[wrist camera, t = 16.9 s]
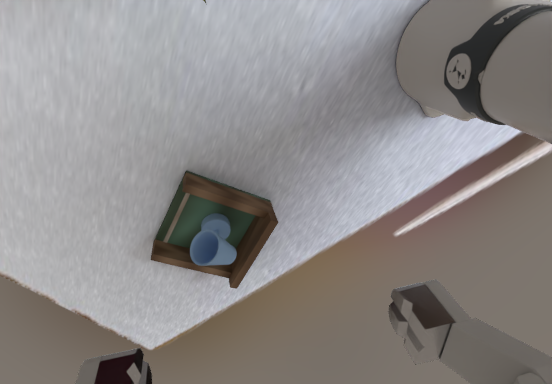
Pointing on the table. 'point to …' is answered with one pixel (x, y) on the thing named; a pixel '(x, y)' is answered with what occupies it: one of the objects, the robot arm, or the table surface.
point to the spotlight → (213, 242)
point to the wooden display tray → (202, 202)
